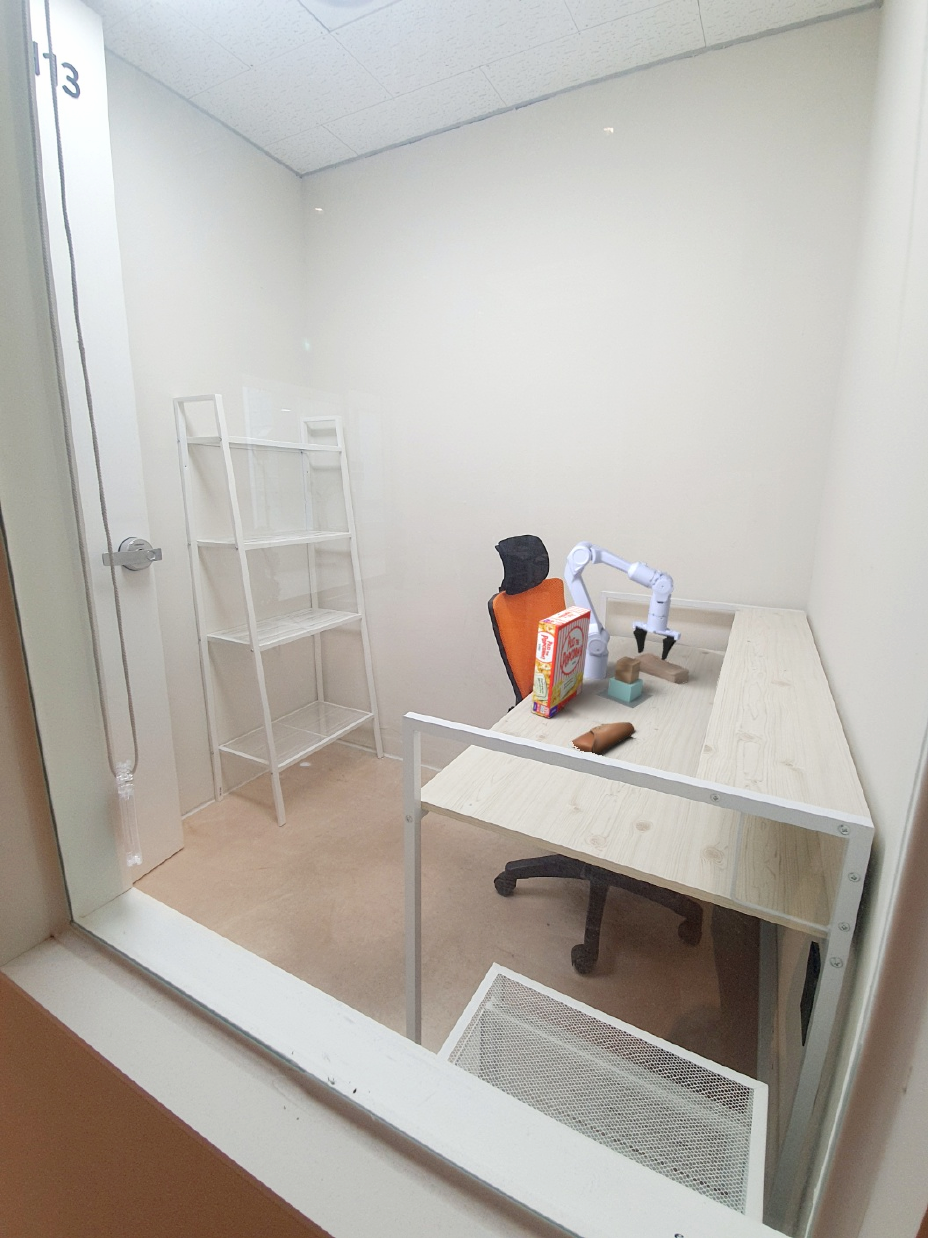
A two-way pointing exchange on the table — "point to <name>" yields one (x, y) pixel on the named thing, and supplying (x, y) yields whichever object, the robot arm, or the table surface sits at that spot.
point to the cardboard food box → (560, 660)
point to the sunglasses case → (603, 737)
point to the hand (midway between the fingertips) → (652, 655)
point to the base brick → (625, 689)
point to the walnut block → (627, 670)
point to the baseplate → (630, 704)
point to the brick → (662, 668)
